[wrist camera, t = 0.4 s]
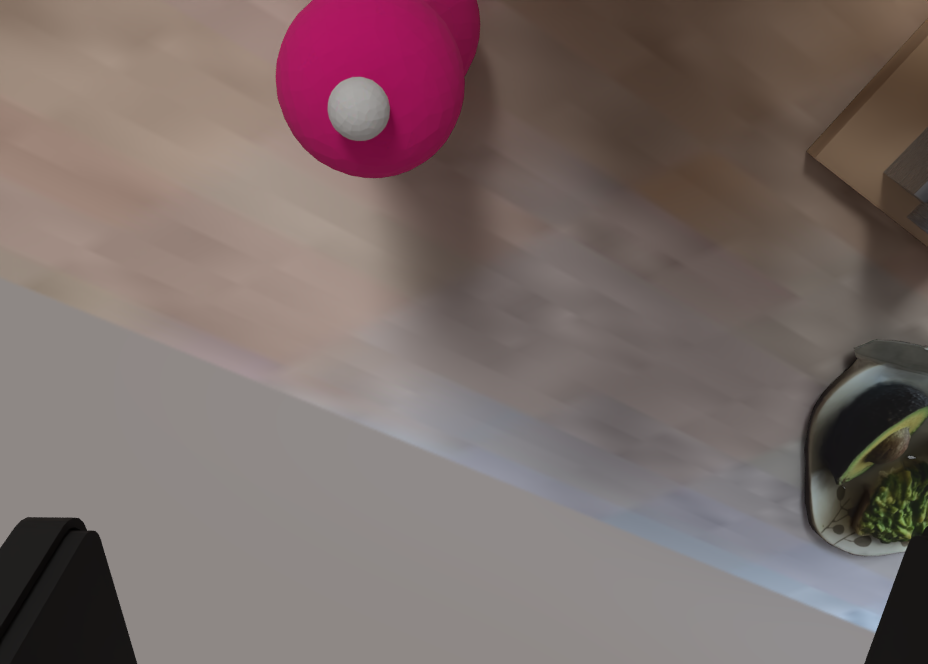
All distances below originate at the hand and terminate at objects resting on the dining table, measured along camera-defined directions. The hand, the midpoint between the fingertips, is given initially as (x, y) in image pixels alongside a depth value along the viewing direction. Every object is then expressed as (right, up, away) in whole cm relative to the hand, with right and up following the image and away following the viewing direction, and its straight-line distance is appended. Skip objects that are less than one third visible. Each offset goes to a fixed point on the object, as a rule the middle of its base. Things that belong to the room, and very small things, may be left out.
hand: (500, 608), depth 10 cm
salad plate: (+29, -3, +43) cm, 52 cm away
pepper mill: (-3, +19, +30) cm, 36 cm away
